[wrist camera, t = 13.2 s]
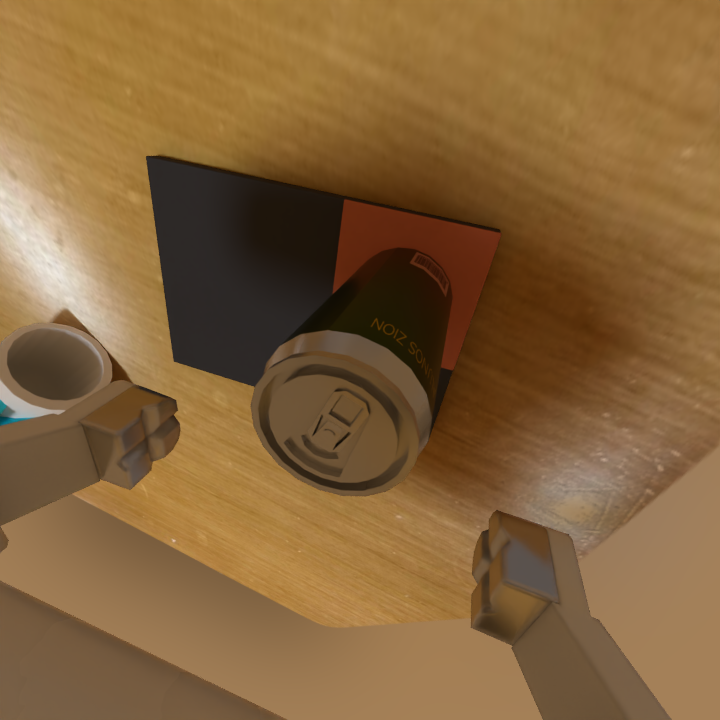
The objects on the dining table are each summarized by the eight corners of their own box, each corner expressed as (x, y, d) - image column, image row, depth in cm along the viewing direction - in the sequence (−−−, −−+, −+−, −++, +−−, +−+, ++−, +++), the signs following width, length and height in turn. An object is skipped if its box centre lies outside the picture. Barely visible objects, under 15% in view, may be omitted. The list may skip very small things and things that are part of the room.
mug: (-97, 454, 28) (-57, 403, 22) (-13, 363, 34) (36, 305, 28) (69, 502, 35) (132, 472, 29) (114, 419, 41) (174, 381, 35)
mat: (500, 229, 18) (501, 233, 17) (429, 431, 26) (427, 443, 25) (158, 155, 22) (142, 155, 21) (182, 355, 29) (171, 363, 28)
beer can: (387, 223, 19) (282, 305, 9) (474, 280, 19) (471, 427, 9) (341, 305, 22) (222, 437, 12) (417, 354, 22) (365, 527, 12)
